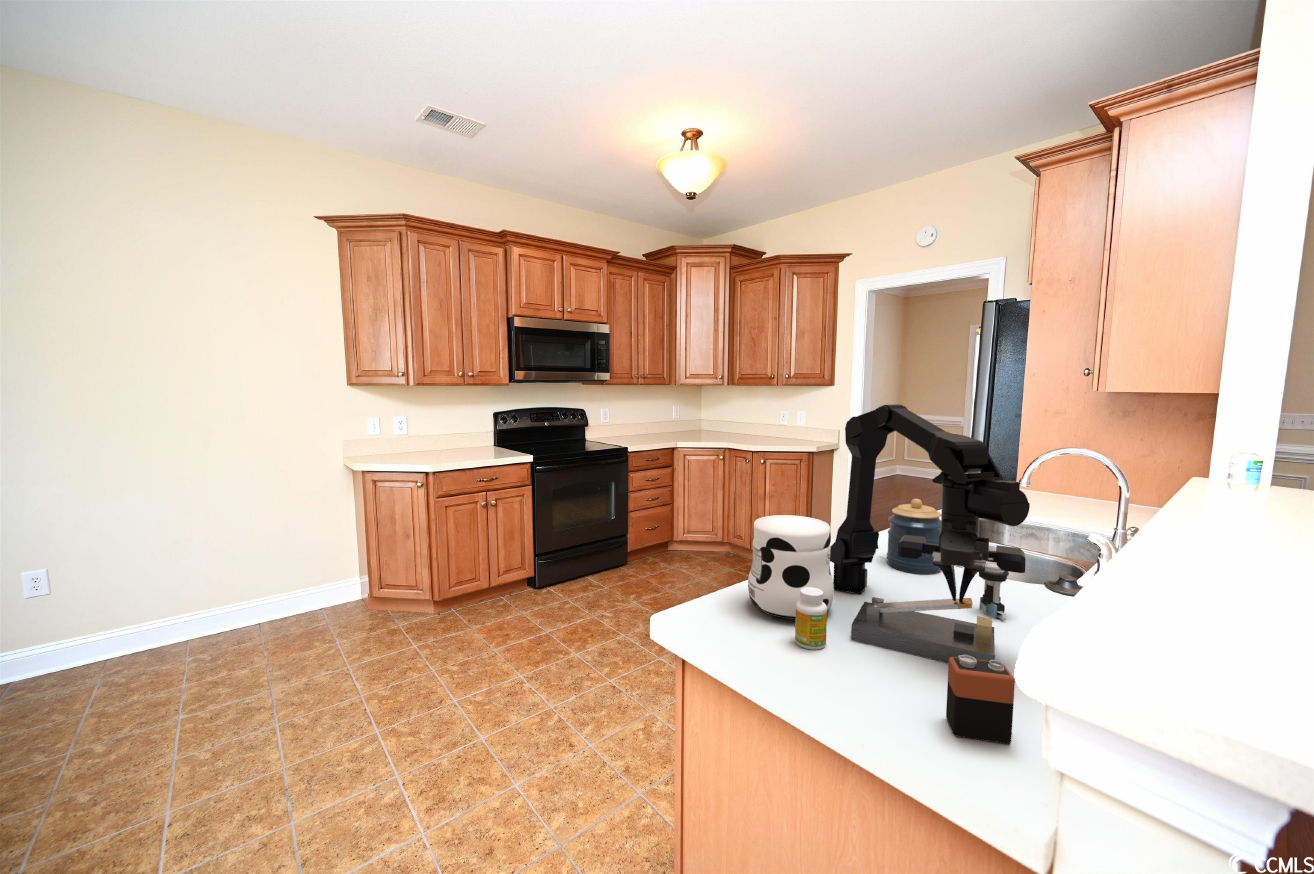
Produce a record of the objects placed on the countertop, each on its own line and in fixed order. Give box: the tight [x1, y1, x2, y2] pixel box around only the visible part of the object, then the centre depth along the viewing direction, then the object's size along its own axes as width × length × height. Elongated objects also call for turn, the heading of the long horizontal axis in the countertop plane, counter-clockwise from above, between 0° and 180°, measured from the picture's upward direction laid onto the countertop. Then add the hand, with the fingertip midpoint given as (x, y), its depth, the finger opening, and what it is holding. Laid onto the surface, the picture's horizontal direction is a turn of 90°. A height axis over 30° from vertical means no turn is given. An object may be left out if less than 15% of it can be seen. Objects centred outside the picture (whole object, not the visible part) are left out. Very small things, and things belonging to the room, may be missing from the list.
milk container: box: [747, 514, 835, 620], centre depth 110 cm, size 17×17×18 cm
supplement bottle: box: [794, 587, 828, 651], centre depth 95 cm, size 5×5×10 cm
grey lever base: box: [850, 596, 996, 664], centre depth 96 cm, size 22×12×6 cm, turn 58°
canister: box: [886, 498, 942, 575], centre depth 136 cm, size 13×13×18 cm
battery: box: [945, 655, 1016, 745], centre depth 71 cm, size 4×7×10 cm, turn 75°
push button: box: [978, 562, 1010, 620], centre depth 107 cm, size 7×5×10 cm
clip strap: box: [873, 597, 973, 613], centre depth 96 cm, size 17×3×1 cm, turn 58°
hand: (957, 600), depth 93 cm, fingers closed
